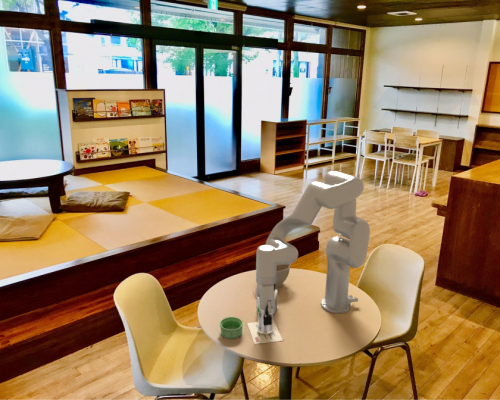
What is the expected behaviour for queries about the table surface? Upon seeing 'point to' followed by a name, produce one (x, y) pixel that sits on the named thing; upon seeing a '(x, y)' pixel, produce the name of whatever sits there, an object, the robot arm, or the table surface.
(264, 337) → the letter
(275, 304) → the container
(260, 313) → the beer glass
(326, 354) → the table surface
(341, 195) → the robot arm
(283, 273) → the planter bowl
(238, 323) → the ramekin
